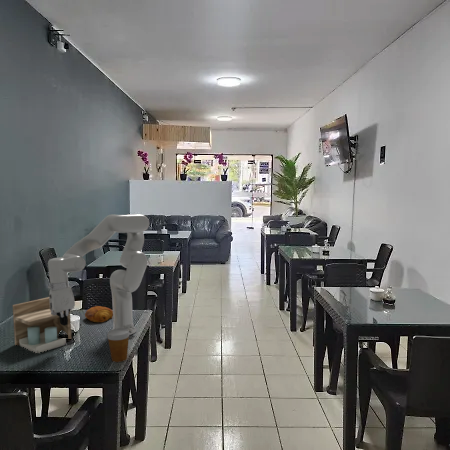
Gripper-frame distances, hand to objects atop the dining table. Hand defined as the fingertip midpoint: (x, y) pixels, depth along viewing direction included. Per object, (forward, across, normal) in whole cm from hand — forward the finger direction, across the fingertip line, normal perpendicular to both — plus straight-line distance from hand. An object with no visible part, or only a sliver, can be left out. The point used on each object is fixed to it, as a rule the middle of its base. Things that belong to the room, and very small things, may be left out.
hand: (64, 324), depth 194 cm
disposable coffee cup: (+12, +6, -30) cm, 33 cm away
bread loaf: (+13, +34, +25) cm, 44 cm away
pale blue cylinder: (+10, -3, +8) cm, 13 cm away
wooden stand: (+11, -3, +15) cm, 19 cm away
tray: (+11, -5, +12) cm, 17 cm away
